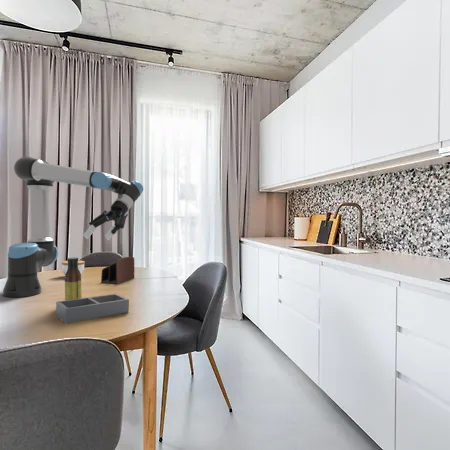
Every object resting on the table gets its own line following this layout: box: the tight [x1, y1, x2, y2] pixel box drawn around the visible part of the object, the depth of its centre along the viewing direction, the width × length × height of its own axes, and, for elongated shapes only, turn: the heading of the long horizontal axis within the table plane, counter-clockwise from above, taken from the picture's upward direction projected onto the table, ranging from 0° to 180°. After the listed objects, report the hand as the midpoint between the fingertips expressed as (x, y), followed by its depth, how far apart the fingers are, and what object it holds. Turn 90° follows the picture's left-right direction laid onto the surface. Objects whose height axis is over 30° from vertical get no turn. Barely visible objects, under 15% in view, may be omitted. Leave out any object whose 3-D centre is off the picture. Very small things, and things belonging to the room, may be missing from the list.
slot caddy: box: [55, 293, 130, 324], centre depth 122 cm, size 12×23×5 cm, turn 132°
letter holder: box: [100, 256, 135, 285], centre depth 187 cm, size 10×20×14 cm, turn 168°
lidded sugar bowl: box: [61, 259, 86, 276], centre depth 194 cm, size 13×13×11 cm
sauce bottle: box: [64, 256, 83, 301], centre depth 132 cm, size 6×6×20 cm
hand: (95, 237), depth 141 cm, fingers open, 13 cm apart
